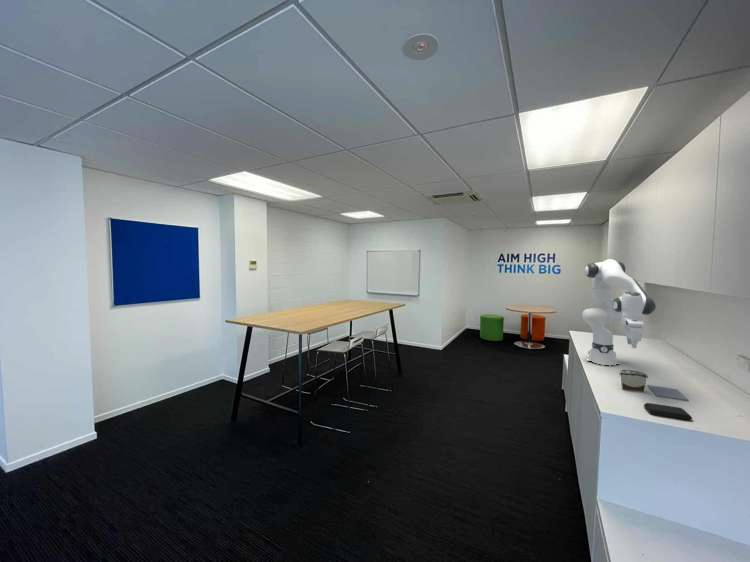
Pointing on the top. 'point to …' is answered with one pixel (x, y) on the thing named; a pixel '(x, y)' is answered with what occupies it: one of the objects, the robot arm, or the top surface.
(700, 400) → the top surface
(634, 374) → the food container
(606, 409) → the top surface
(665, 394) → the slate mat
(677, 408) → the carrying case or bag
